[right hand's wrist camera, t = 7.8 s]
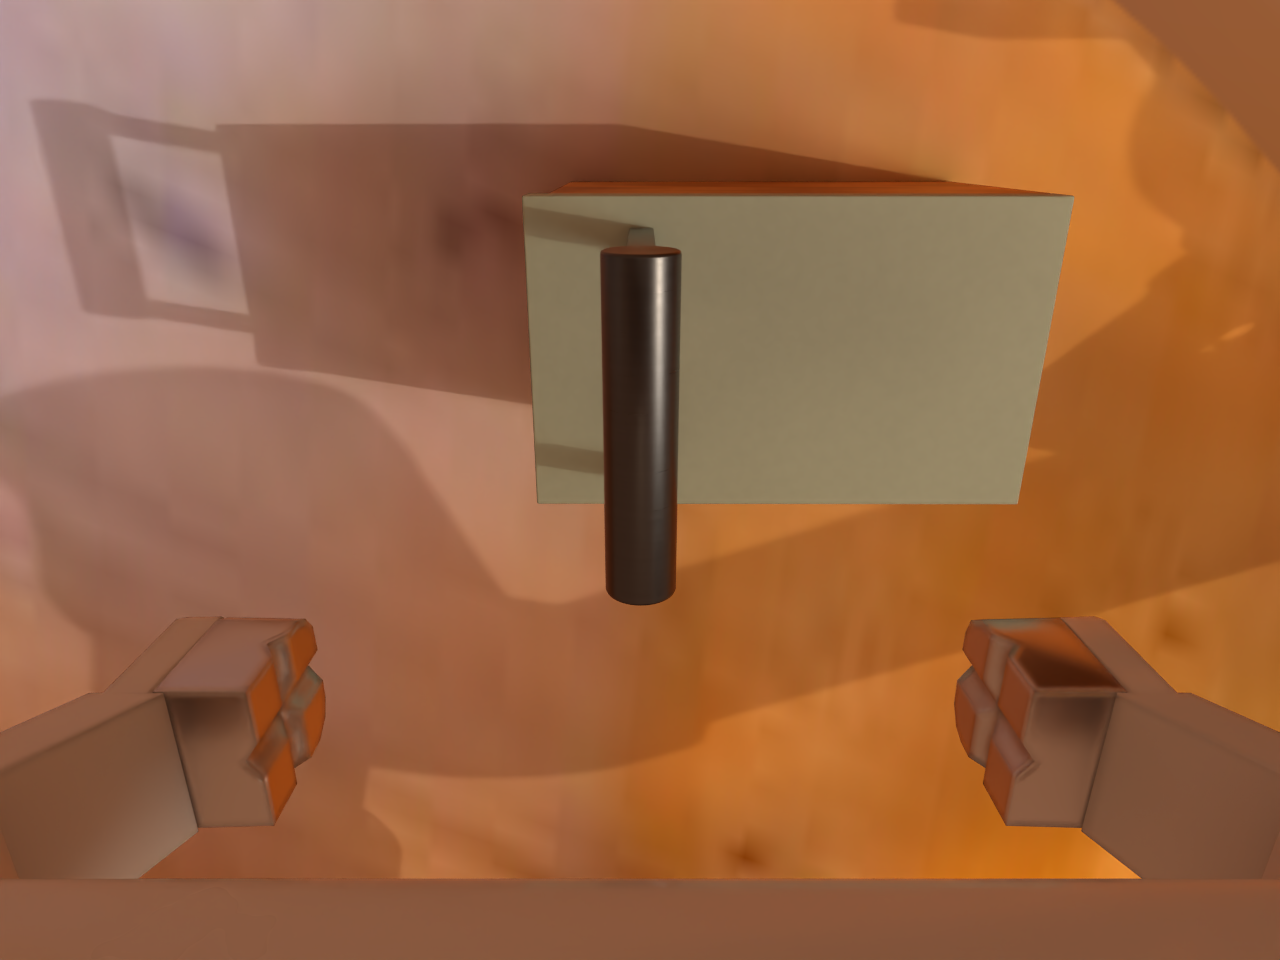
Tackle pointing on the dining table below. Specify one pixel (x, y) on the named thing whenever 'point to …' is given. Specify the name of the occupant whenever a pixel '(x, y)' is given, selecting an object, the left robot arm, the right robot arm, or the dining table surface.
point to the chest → (784, 187)
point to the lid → (781, 353)
